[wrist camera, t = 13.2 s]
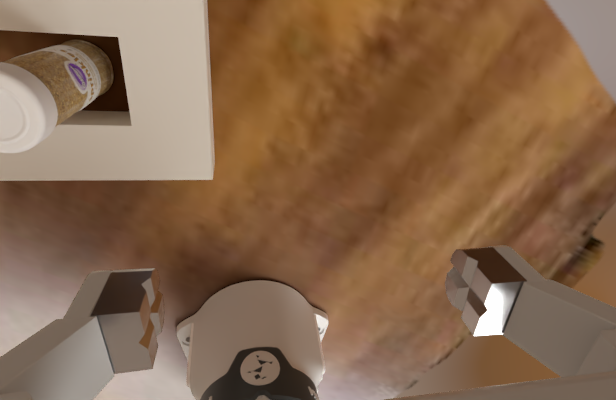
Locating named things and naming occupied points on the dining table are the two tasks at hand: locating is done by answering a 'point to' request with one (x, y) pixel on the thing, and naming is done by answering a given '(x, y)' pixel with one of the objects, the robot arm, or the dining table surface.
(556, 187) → the dining table surface
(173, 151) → the slotted plate
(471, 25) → the dining table surface
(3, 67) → the sprinkles bottle
